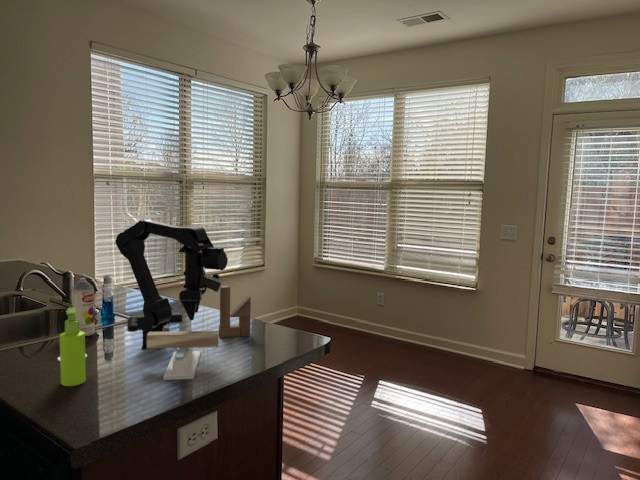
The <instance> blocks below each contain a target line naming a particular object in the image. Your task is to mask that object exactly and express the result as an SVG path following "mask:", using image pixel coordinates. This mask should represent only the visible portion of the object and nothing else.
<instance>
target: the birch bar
mask: <svg viewBox="0 0 640 480" xmlns="http://www.w3.org/2000/svg"><path fill="white" fill-rule="evenodd" d="M219 339H220V336H219V330H191V331H190V330H189V331H182V330H181V331H177V330H176V331H166V332H148V334H147V350H149V349H150V348H156V349H178V348H193V349H194V348H196V349H198V348H202V349H203V348H219V343H220V341H219Z"/></svg>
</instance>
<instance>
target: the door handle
mask: <svg viewBox="0 0 640 480" xmlns="http://www.w3.org/2000/svg"><path fill="white" fill-rule="evenodd" d="M143 317H144V315H134V316H129V317H128V318H127V329H128V331H131V332H133V331H135V332H136V331H138V330H139V328H138V325H137V324H138V323H139V321H140V320H141V319H142V318H143ZM180 321H183V313H178V312H177V313H172V315H171V318H170V320H169V321H168V324H167V325H165V326H164V331H166V332H170V322H180Z"/></svg>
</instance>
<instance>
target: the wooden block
mask: <svg viewBox="0 0 640 480" xmlns="http://www.w3.org/2000/svg"><path fill="white" fill-rule="evenodd" d="M219 294H220V295H219V325H218V331H219V339H221V338H222V339H223V338H231V337H232V338H233V337H234V338H235V337H250V336H251V309H252V308H251V307H252V306H251V304H252V303H251V300H252V298H251V296H250V295H248V294H247V296H246V297H245V298H244V299H243V300H242V301H241V302H240V303H239V304H238V306H236V308H234V309H233V310H232V311H231V286H229V285H220V288H219ZM231 318H238V324H231Z"/></svg>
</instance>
